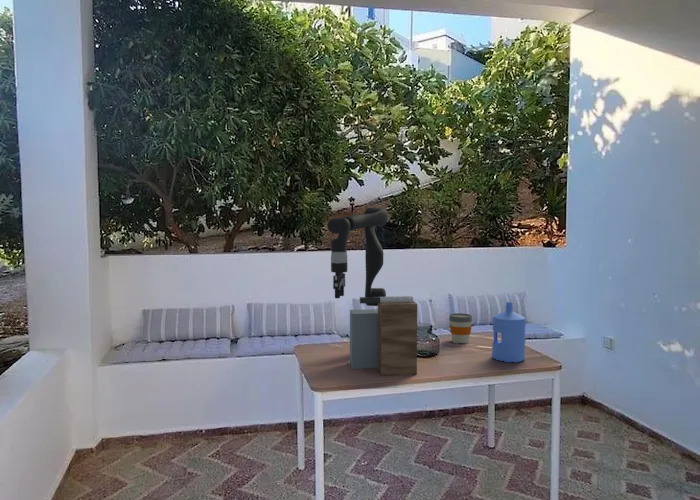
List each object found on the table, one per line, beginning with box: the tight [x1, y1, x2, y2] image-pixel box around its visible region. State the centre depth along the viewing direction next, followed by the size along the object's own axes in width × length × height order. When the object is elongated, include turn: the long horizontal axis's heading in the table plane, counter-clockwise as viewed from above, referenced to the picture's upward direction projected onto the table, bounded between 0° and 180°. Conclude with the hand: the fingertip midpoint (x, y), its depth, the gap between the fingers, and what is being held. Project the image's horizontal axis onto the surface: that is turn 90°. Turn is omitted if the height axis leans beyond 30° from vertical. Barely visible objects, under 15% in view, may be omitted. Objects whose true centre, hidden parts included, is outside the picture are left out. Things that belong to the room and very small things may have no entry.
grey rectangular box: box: [349, 308, 378, 370], centre depth 249 cm, size 10×20×26 cm, turn 96°
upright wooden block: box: [377, 300, 418, 377], centre depth 239 cm, size 11×16×32 cm
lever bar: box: [359, 295, 414, 305], centre depth 237 cm, size 3×24×2 cm, turn 96°
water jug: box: [491, 301, 526, 363], centre depth 260 cm, size 16×16×28 cm
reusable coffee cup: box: [449, 312, 473, 344], centre depth 295 cm, size 13×13×15 cm
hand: (339, 297), depth 240 cm, fingers open, 8 cm apart
